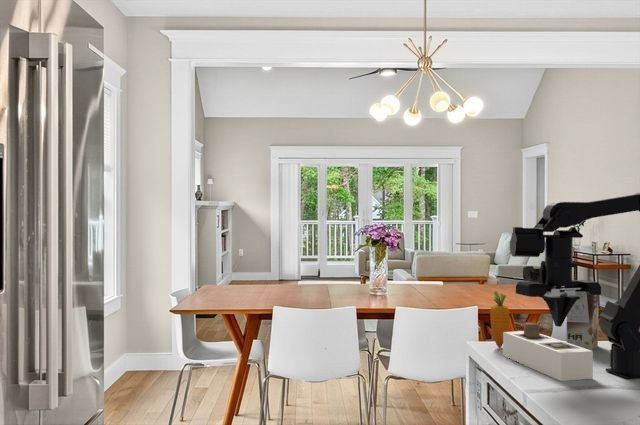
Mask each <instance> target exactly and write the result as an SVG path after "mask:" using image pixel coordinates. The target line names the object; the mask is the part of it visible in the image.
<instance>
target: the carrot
mask: <svg viewBox="0 0 640 425" xmlns="http://www.w3.org/2000/svg"><path fill="white" fill-rule="evenodd" d="M493 294H494V298H492V300H493V301H494V302H495V303H496V304H494V305H493V304H492V306H491V307H490V311H489V312H490V313H489V315H490V328H491V333H492V337H493V339H494V342H495V345H496V346H497V347H498V348H499V349H500V348H502V347H503V332H508V328H509V318H510V309H509V307H508V306H507V305H505V304H504V302H505V299H506V297H507V295H506V294H503V293H500V294H499V293H498V291H497V290H496V291H495V290H494V291H493Z"/></svg>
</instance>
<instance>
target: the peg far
mask: <svg viewBox="0 0 640 425" xmlns="http://www.w3.org/2000/svg"><path fill="white" fill-rule="evenodd" d="M540 327H541V326H540V323H535V322H524V323H523V331H524V337H526V338H528V339H534V338H540V334H541V333H540V329H541V328H540Z"/></svg>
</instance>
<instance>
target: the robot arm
mask: <svg viewBox="0 0 640 425" xmlns="http://www.w3.org/2000/svg"><path fill="white" fill-rule="evenodd" d="M631 212H639V213H640V192H636V193H634V194H629V195H624V196H617V197H611V198H606V199H600V200H599V199H598V200H591V201H586V202H584V201H583V202H582V201H581V202H580V201H561V202H560V201H558V202H552V203H551V202H550V203H549V204H547V205H546V206H545V208H544V209H543V212H542V217H541V218H540V219H539V220H538V222H537V223H536V224H535V226H534V227H521V226H513V227H512V233H511V236H510V240H509V251H510V255H511V257H516V258H517V257H520V258H521V257H523V258H539V257H540V255H541V254H544V260H541V262H540V267H539V268H535V267H534V266H532V265H525V266H524V267H522V277H523V281H522V280H521V281H518V282H517V283H516V285H515V294H517V295H521V296H524V297H525V296H526V297H530V298H535V297H536V298H542V300H544V302H545V303H546V305H547V308H548V309H549V313H550V315H551V317H552V318H551V319H552V320H553V323H554V326H555V327H562V326H563V324H564V322H565V321H566V319H567V315H568V313H569V311H570V309H571V308H572V306H573V305H574V303H575V302H576V300H577V299H580V297H578V296H576V293H575V292H583V291H584V292H588V293H589V295H598V296H602V286H601V284H600V283H599V282H598V281H593V280H587V279H576V280H575V279H574V280H573V268H577V262H573V257H574V256H573V254H574V253H573V251H574V250H573V248H574V247H573V246H574V245H573V243H574V240H573V239H574V238H575V239H576V238H577V239H578V238H579V239H581V238H583V237H584V235H583V234H582V233H581V232H579V231H578V230H577V228H576V227H575V225H578V224H581V223H583V222H586V221H587V220H591V219H594V218H600V217H606V216H613V215H618V214H620V215H621V214H625V213H631ZM569 227H570V228H569ZM560 228H562V229H561V230H560ZM563 228H569V229H567V230H565V229H564V230H563ZM544 233H553V234H544ZM604 305H605V306H604V308H603V310H602V312H601V313H600V314H598V317H600V319H599V320H598V326H599V328H600V330H601V332H602V333H603V334H604V335H606V338H607V341H608V342H609V343H611V344H610V345H611V346H610V348H611V349H610V356H609V357H610V359H609V360H610V361H609V363H610V367H608V368H605V372H608V373H610V374H613V375H616V376H619V377H620V378H621V377H622V378H624V379H637V378H640V264H638V267H637V269H636V271H635V272H634V273H633V276H632V277H631V280H630V281H629V283H628V285H627V286H626V288H625V290H624V292H623V294H622V295H621V297H620V298H619V299H618V300H616V301H615V302H612V301H610V300H607V301H606V303H605V304H604Z"/></svg>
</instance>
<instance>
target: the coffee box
mask: <svg viewBox="0 0 640 425" xmlns="http://www.w3.org/2000/svg"><path fill="white" fill-rule="evenodd" d="M575 293H576V296H578V297H580V299H577V300H576V302H575V303H574V305H573V306H572V308H571V309H570V311H569V313H568V315H567V316H566V342H567V343H570V344H573V345H576V346H579V347H582V348H585V349H588V350H591V351H593V352H594V350H595V349H596V348H598V346H599V295H589V293H588V292H584V291H583V292H575Z"/></svg>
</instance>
